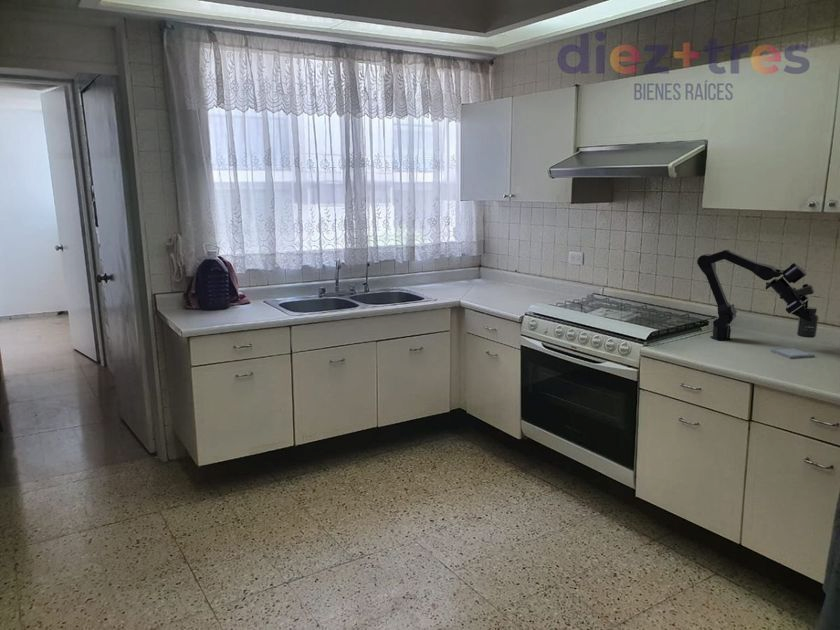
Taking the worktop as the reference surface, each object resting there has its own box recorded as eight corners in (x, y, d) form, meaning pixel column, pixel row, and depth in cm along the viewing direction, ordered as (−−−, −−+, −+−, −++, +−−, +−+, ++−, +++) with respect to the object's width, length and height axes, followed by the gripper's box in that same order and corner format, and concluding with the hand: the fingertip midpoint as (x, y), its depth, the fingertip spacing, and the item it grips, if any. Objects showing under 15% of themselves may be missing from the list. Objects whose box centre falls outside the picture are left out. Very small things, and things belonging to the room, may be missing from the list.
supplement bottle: (806, 338, 254) (810, 309, 252) (792, 334, 261) (796, 306, 258) (820, 337, 256) (823, 308, 254) (805, 333, 263) (809, 305, 260)
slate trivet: (790, 358, 247) (790, 356, 247) (770, 351, 258) (770, 349, 258) (814, 356, 249) (815, 354, 249) (794, 349, 260) (794, 347, 259)
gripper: (798, 281, 249) (827, 311, 244) (805, 275, 263) (832, 303, 259) (774, 298, 255) (802, 328, 251) (782, 291, 270) (808, 319, 265)
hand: (812, 319), depth 256 cm, fingers closed on supplement bottle, 7 cm apart
